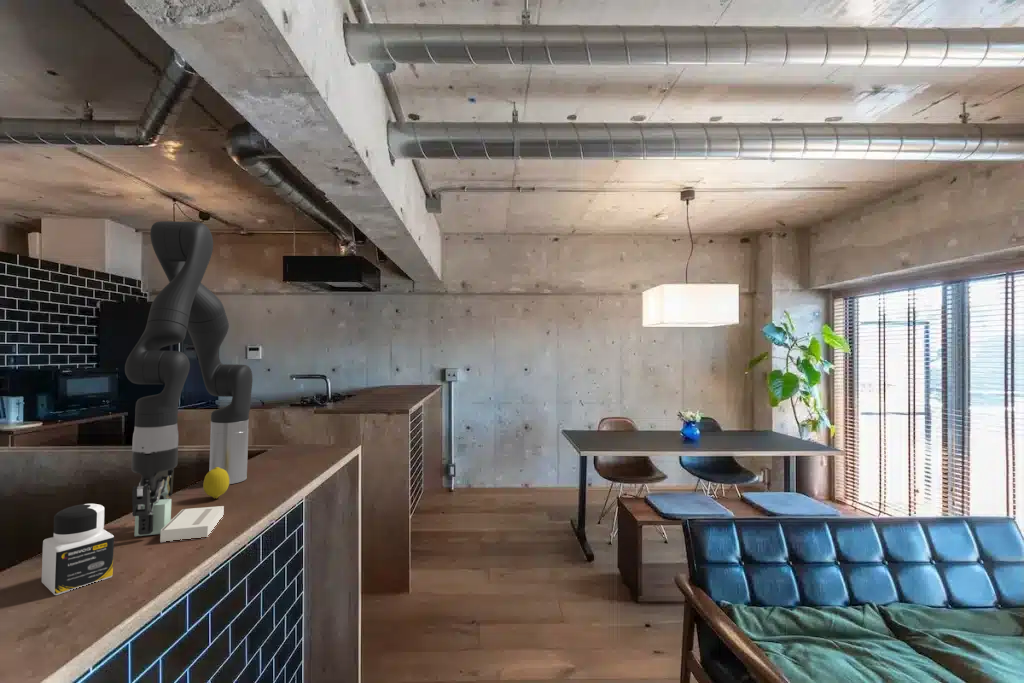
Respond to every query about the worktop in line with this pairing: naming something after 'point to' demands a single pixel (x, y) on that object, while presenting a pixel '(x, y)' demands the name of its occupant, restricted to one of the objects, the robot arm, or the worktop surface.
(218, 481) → the lemon
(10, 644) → the worktop surface
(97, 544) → the medicine bottle
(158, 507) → the pale green block
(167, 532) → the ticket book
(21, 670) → the worktop surface
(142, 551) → the worktop surface
